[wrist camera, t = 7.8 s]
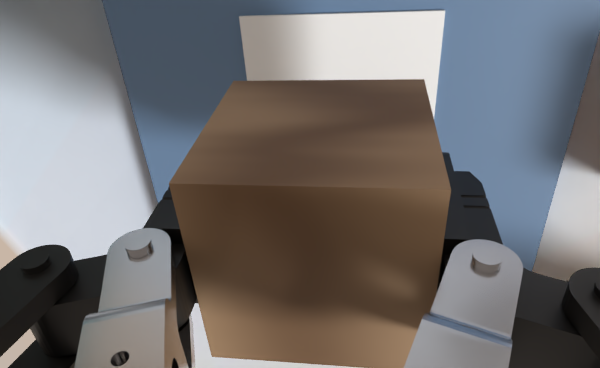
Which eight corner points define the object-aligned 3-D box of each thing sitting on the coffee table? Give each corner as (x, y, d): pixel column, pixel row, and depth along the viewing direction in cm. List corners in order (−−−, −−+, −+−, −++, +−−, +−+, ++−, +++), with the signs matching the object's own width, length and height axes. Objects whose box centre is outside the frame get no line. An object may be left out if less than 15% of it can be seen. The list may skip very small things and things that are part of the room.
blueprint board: (644, -191, 13) (666, -195, 12) (523, 262, 21) (530, 280, 20) (79, -145, 15) (60, -146, 14) (181, 248, 24) (173, 263, 23)
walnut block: (424, 79, 12) (451, 189, 8) (410, 231, 15) (425, 371, 11) (233, 80, 13) (168, 183, 9) (253, 226, 16) (211, 356, 11)
